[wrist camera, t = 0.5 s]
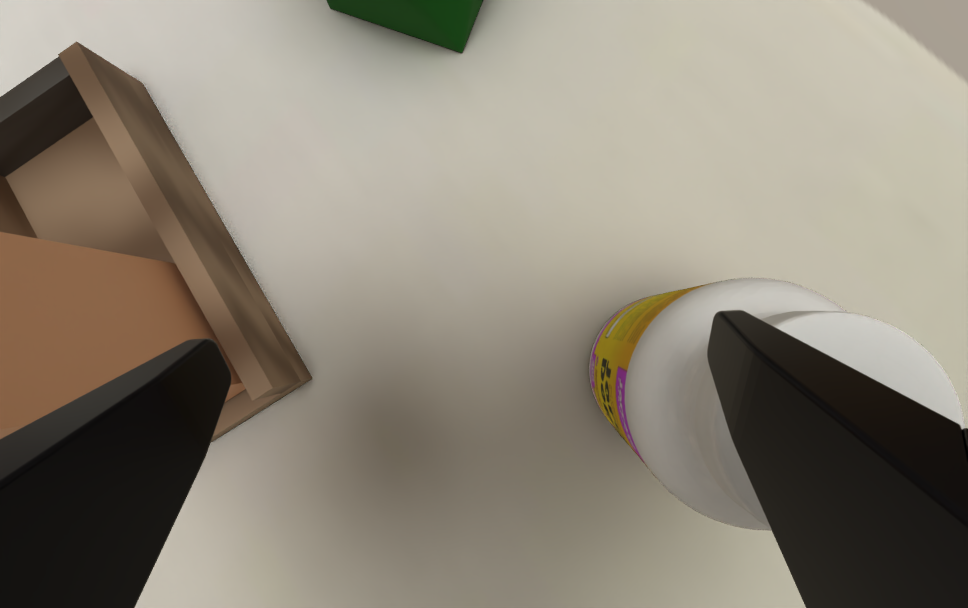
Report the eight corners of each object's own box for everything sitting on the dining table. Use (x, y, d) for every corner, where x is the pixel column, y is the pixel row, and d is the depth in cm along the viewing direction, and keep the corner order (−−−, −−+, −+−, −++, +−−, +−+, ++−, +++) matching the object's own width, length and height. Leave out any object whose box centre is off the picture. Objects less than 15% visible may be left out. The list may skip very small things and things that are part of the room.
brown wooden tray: (312, 378, 24) (272, 388, 20) (163, 472, 24) (97, 498, 21) (142, 83, 25) (76, 41, 22) (4, 177, 26) (-83, 152, 22)
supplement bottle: (559, 341, 23) (598, 359, 10) (688, 269, 23) (898, 194, 10) (634, 471, 22) (776, 665, 10) (767, 400, 22) (1100, 502, 9)
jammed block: (261, 379, 22) (-42, 437, 11) (153, 447, 23) (-260, 579, 11) (198, 267, 23) (-159, 203, 11) (93, 335, 23) (-363, 345, 11)
